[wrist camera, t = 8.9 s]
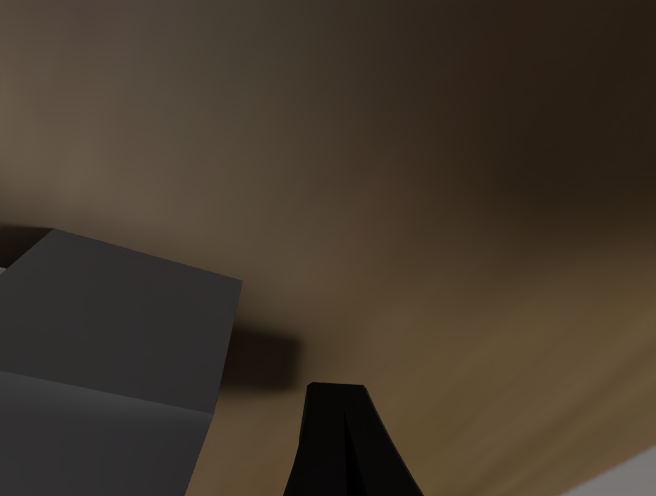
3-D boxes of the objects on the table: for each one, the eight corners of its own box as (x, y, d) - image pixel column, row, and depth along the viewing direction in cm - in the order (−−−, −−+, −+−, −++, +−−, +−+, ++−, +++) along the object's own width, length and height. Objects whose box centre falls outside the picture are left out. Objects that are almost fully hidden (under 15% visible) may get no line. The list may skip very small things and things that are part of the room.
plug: (243, 278, 10) (213, 414, 7) (204, 393, 12) (164, 549, 8) (15, 215, 9) (-160, 337, 6) (8, 351, 11) (-130, 510, 7)
